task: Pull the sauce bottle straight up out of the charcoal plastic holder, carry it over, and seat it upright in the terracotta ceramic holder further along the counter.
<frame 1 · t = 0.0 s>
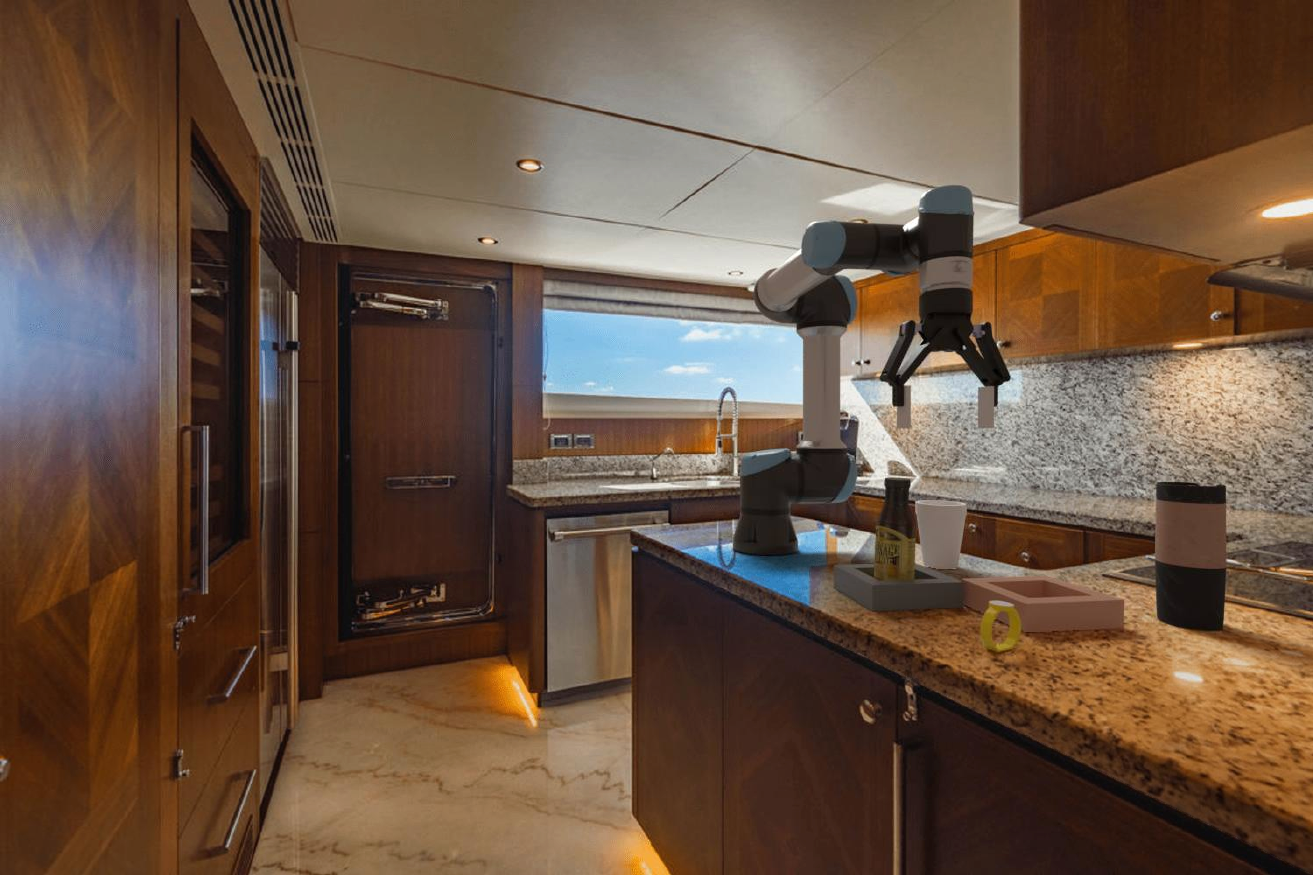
hand: (945, 428, 92), 28 cm above the worktop, fingers open, 13 cm apart
watch: (1000, 650, 75), on the worktop
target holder: (1036, 615, 89), on the worktop
travel mug: (1189, 624, 86), on the worktop
sauce bottle: (894, 598, 99), resting in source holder
foam cup: (940, 567, 121), on the worktop
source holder: (894, 596, 99), on the worktop
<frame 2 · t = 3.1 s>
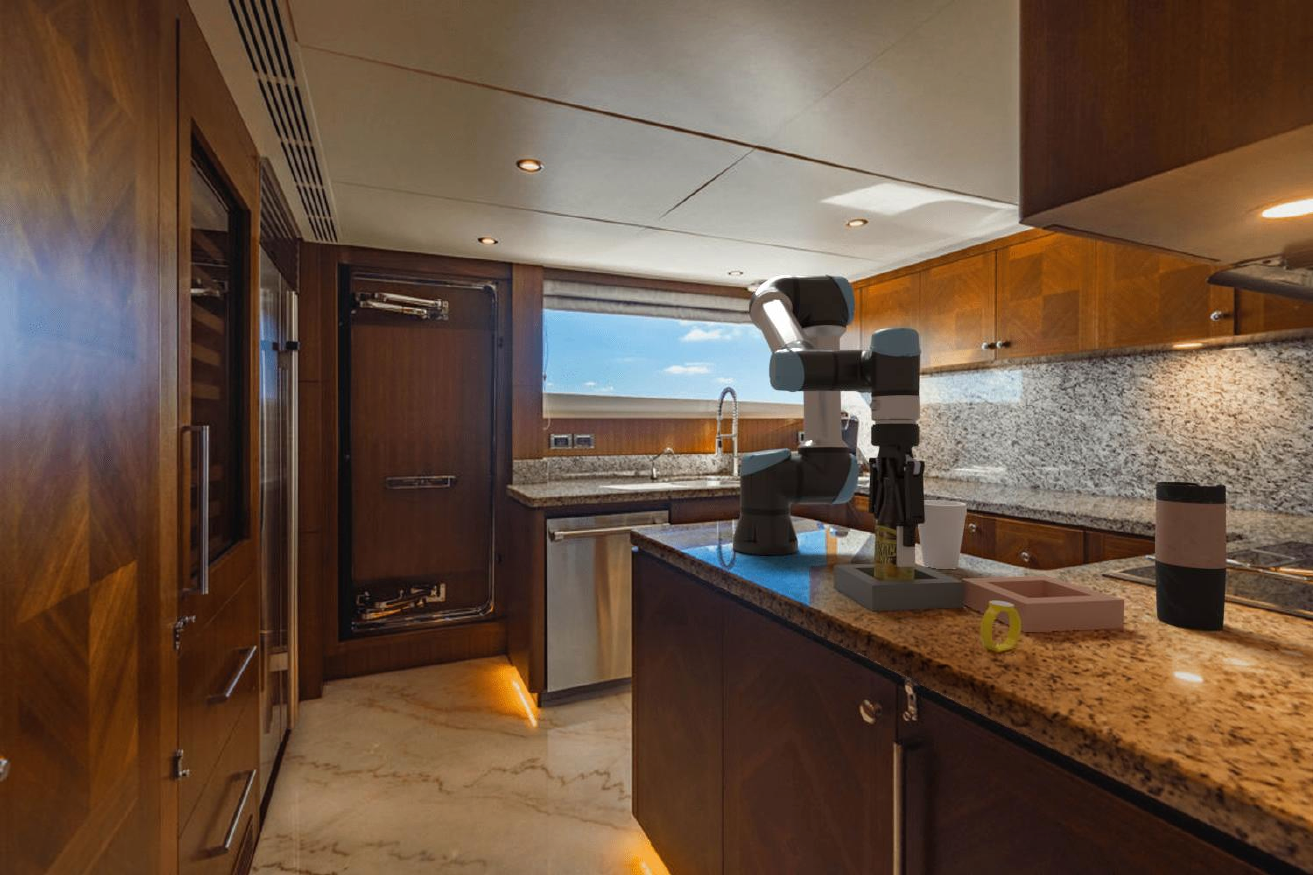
hand: (894, 561, 99), 6 cm above the worktop, fingers closed on sauce bottle, 6 cm apart
sauce bottle: (894, 597, 99), resting in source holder, touching gripper
everything else where it was.
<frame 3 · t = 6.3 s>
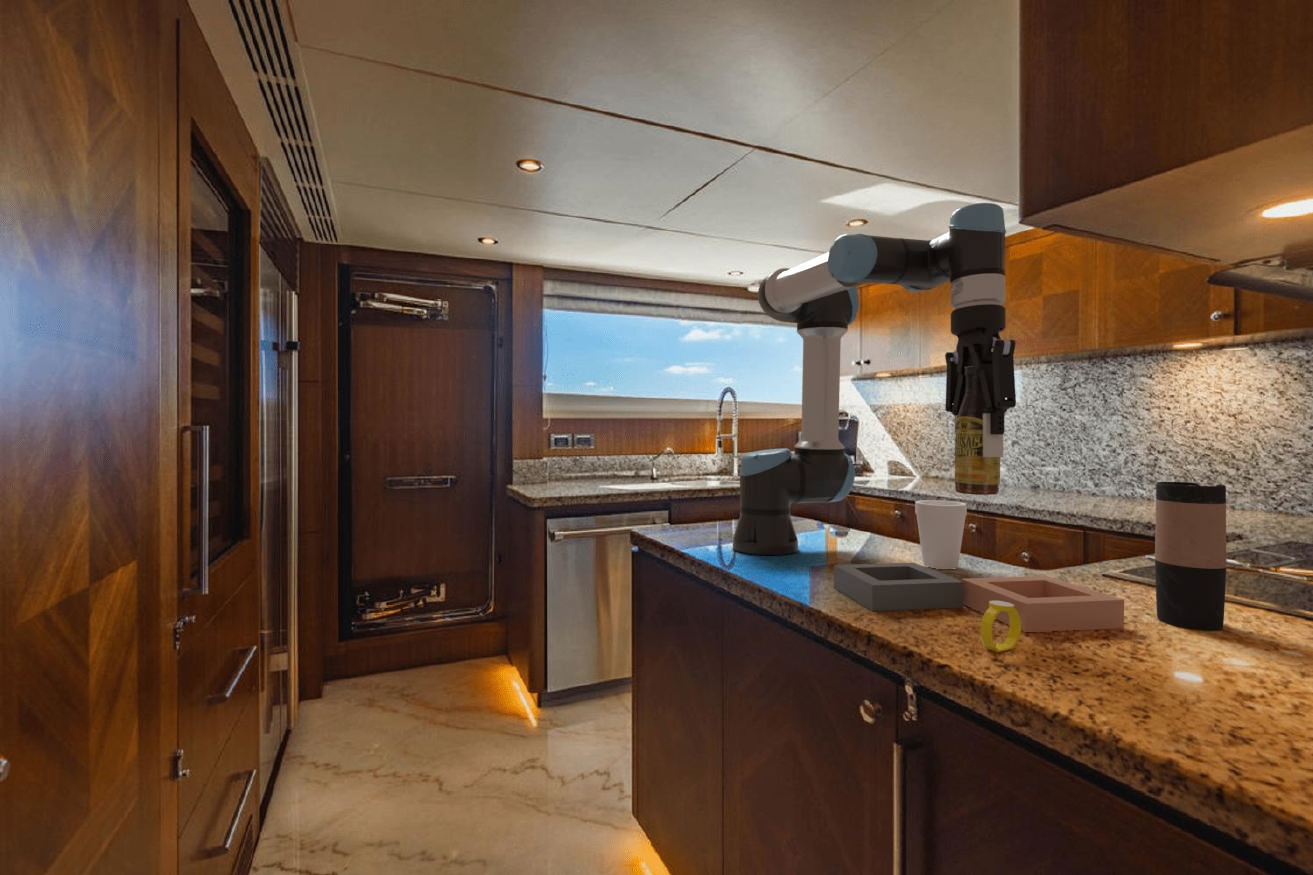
hand: (978, 456, 92), 24 cm above the worktop, fingers closed on sauce bottle, 6 cm apart
sauce bottle: (978, 495, 92), point 18 cm above the worktop, touching gripper
everything else where it was.
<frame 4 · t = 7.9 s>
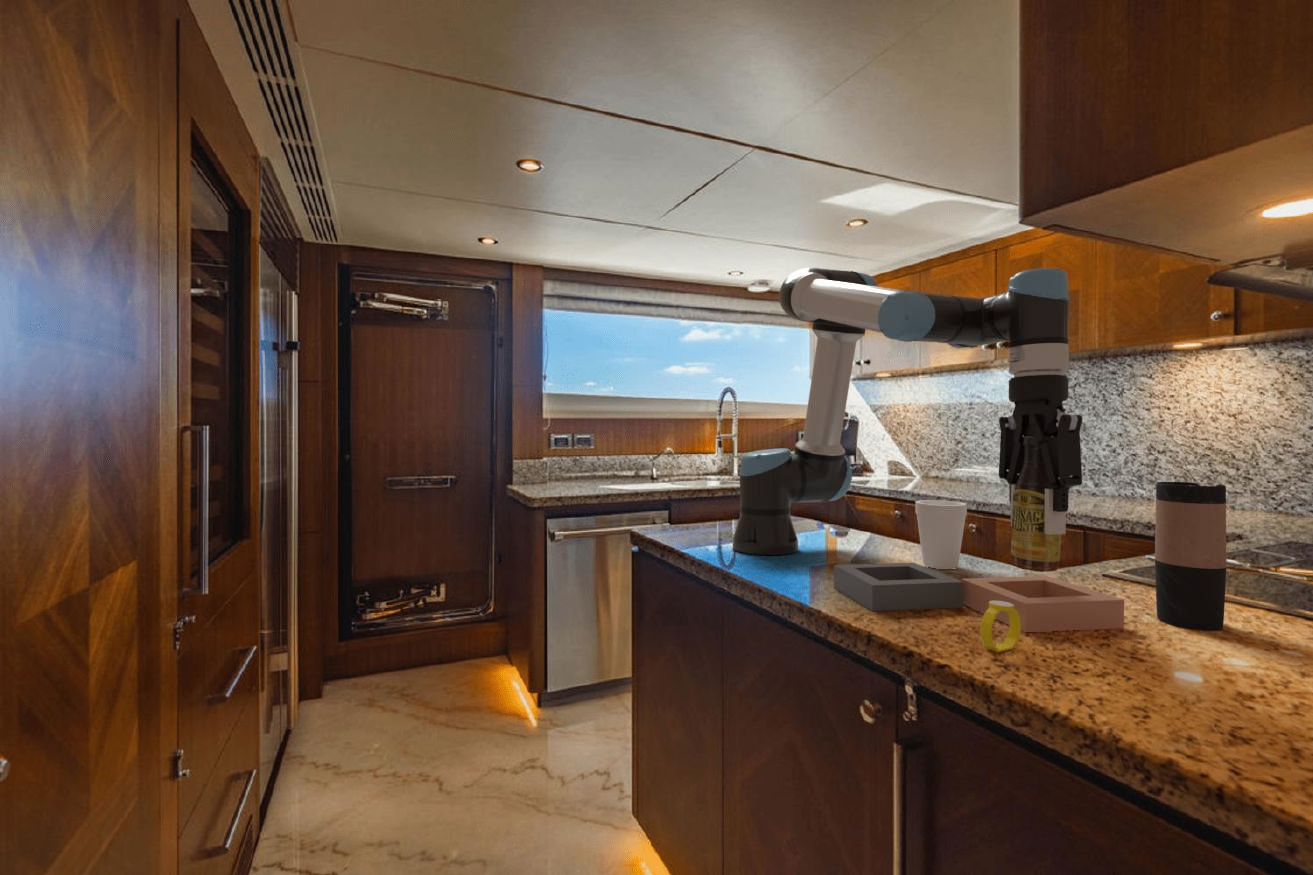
hand: (1037, 529, 89), 13 cm above the worktop, fingers closed on sauce bottle, 6 cm apart
sauce bottle: (1036, 570, 89), point 7 cm above the worktop, touching gripper
everything else where it was.
when the fingers open (7 cm above the worktop, at t = 9.4 s): sauce bottle drops 1 cm, resting in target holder.
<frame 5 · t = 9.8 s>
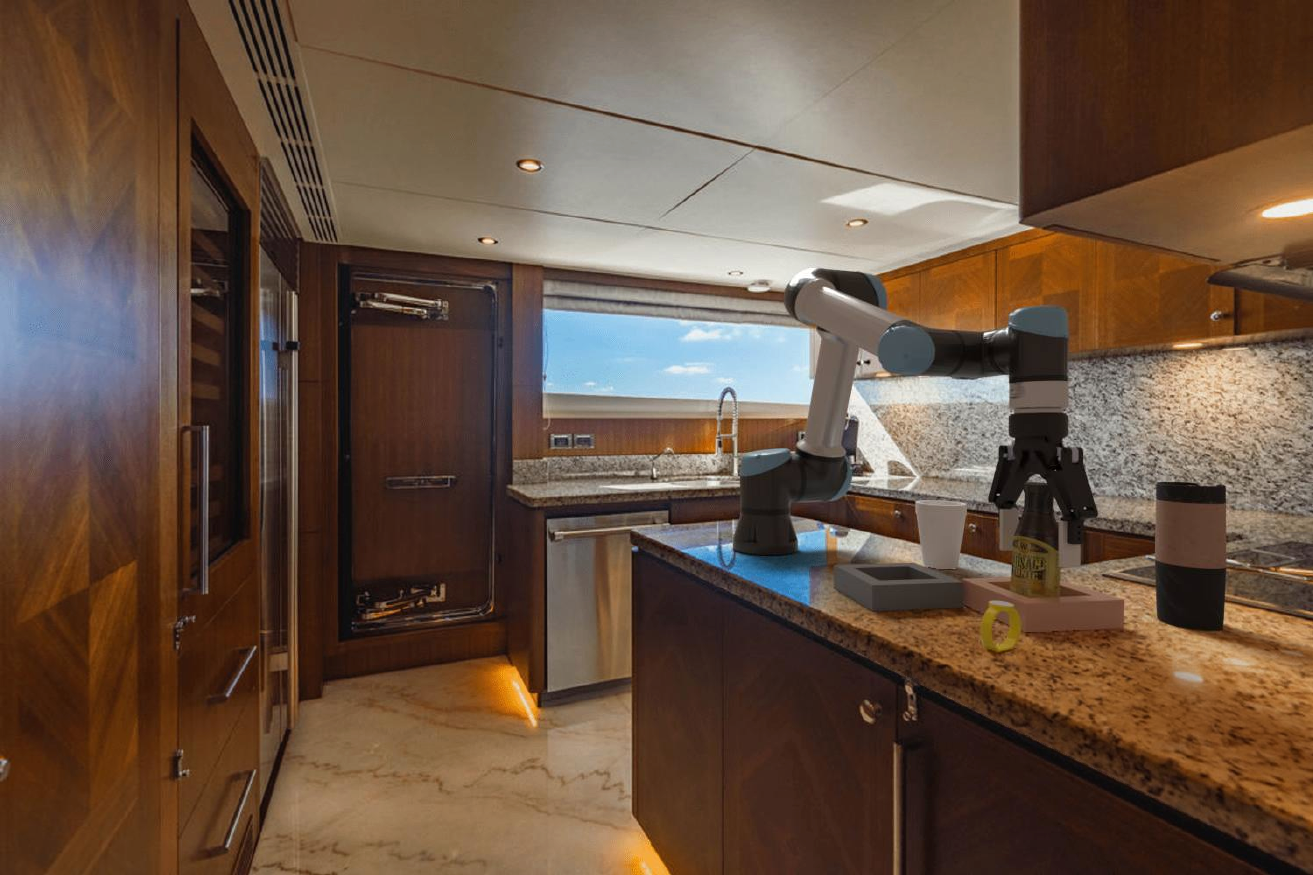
hand: (1037, 557, 89), 9 cm above the worktop, fingers open, 11 cm apart
sauce bottle: (1035, 616, 89), resting in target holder
everything else where it was.
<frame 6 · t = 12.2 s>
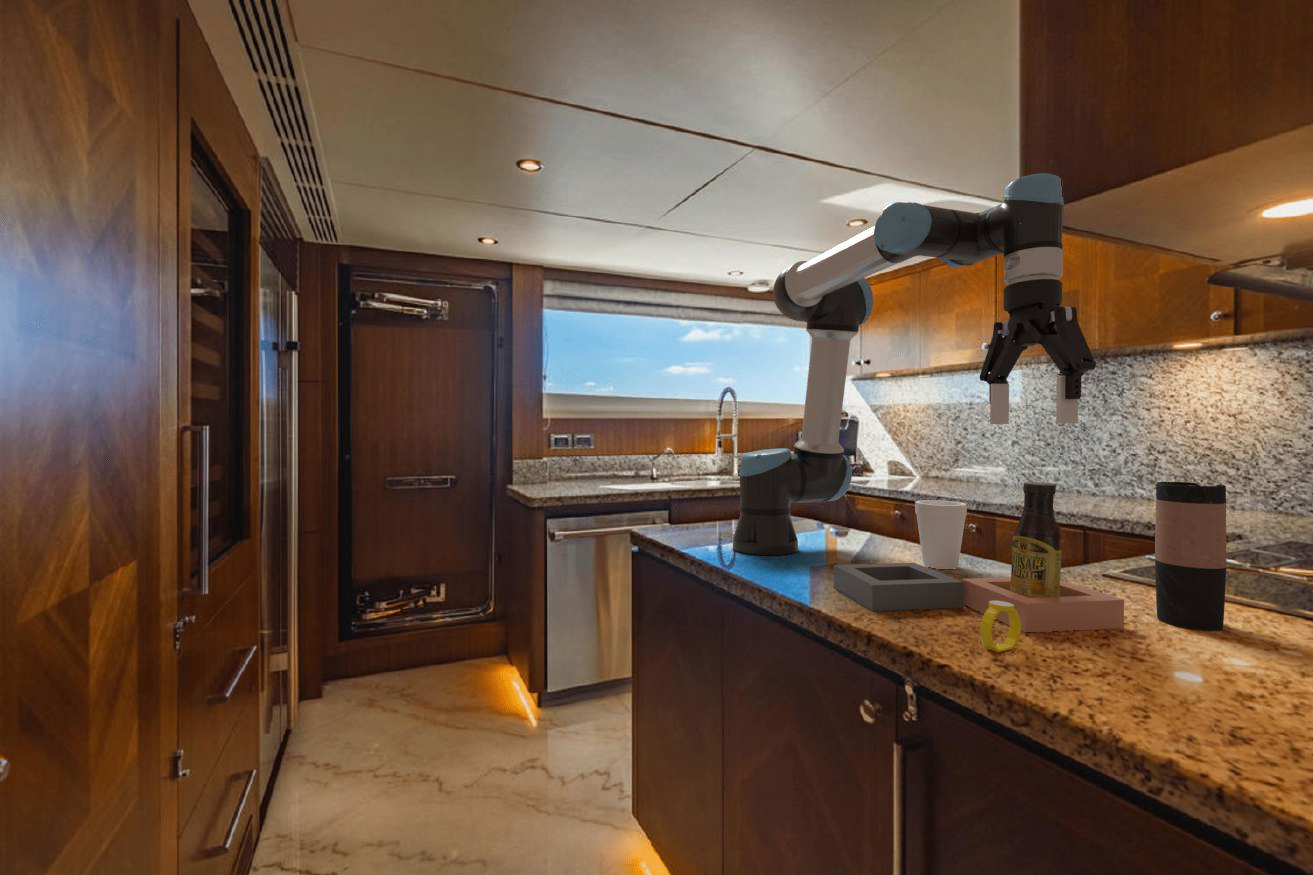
hand: (1030, 424, 90), 29 cm above the worktop, fingers open, 13 cm apart
nothing on the worktop moved.
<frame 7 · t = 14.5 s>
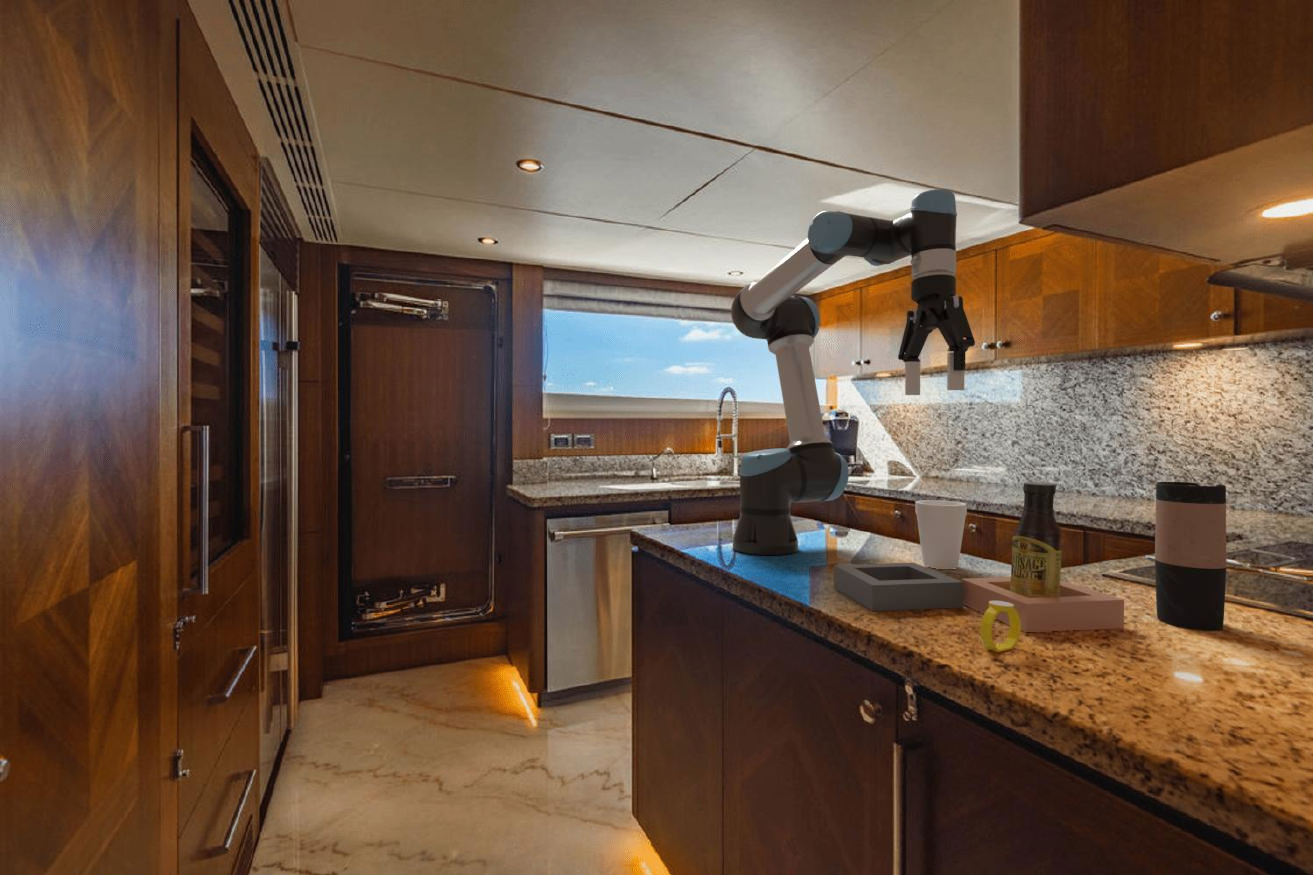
hand: (932, 393, 110), 35 cm above the worktop, fingers open, 13 cm apart
nothing on the worktop moved.
at the end: sauce bottle 0.2 cm off-centre on the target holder, point 0.0 cm above the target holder's base; sauce bottle tilted 0°; the gripper is holding nothing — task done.
